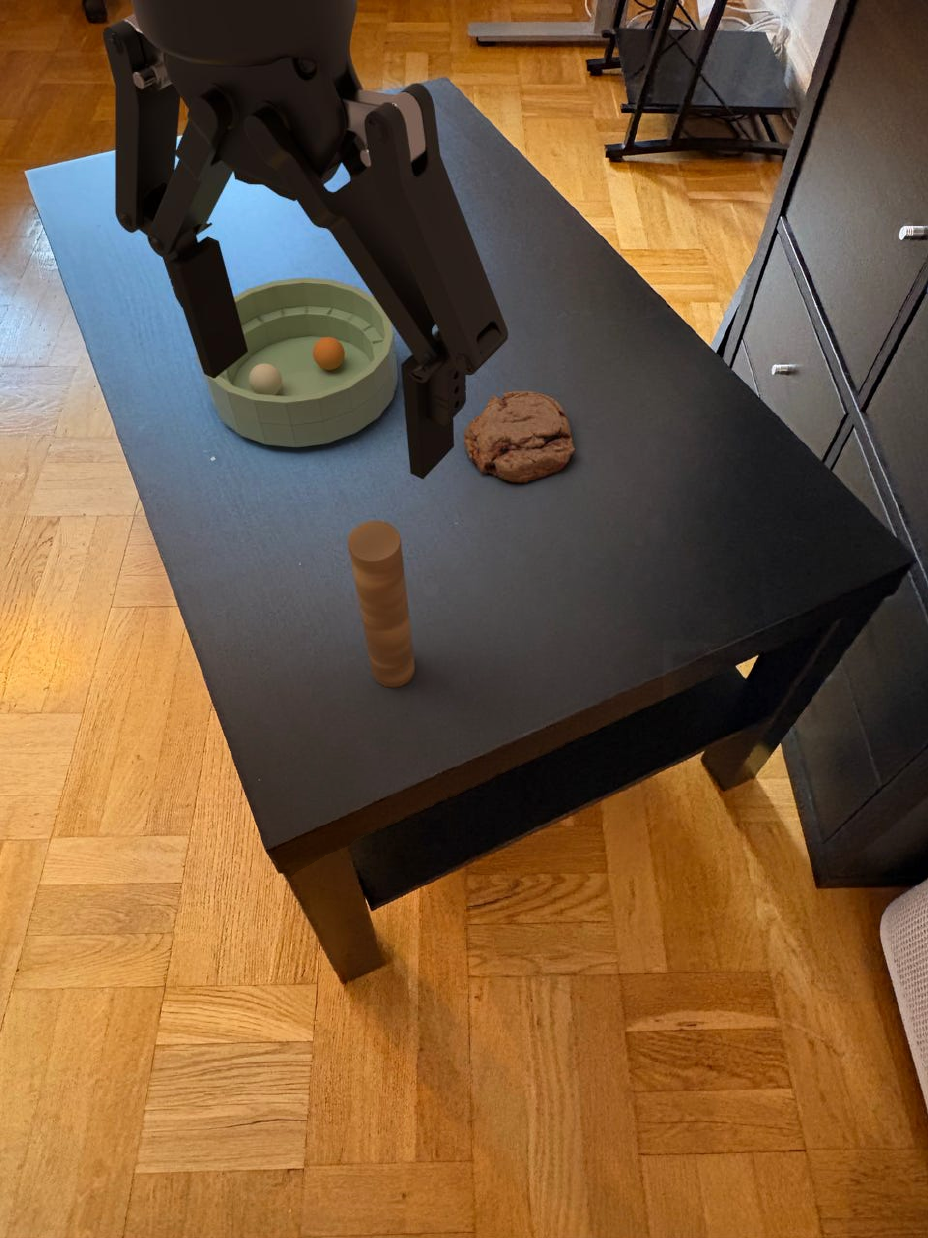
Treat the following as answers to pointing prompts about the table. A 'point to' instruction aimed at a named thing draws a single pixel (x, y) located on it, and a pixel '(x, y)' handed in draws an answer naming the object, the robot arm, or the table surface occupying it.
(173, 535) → the table surface
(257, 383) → the cream ball
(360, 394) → the bowl
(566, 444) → the cookie
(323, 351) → the orange ball
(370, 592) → the stick
